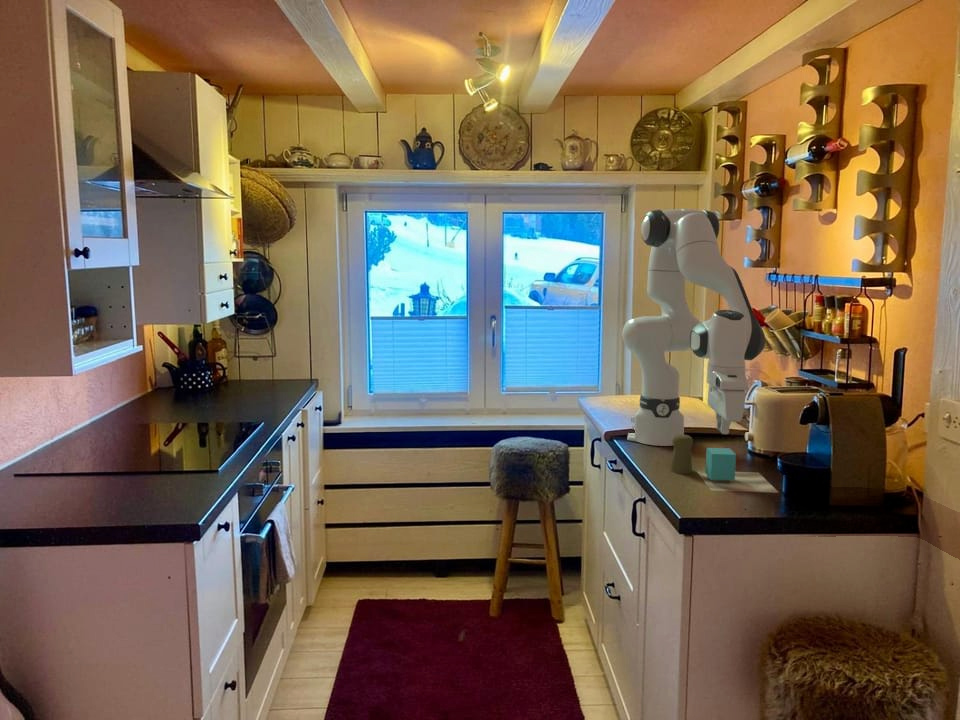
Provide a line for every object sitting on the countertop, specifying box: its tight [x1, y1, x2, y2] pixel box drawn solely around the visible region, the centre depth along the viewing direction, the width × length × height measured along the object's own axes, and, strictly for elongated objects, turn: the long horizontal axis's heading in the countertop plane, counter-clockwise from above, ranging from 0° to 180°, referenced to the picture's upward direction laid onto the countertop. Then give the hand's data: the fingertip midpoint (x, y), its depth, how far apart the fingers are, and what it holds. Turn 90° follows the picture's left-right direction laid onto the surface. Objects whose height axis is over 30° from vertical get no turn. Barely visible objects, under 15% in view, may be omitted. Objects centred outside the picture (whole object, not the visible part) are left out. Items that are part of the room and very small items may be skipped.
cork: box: [669, 434, 694, 475], centre depth 191 cm, size 6×6×11 cm
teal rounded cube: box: [704, 447, 737, 481], centre depth 183 cm, size 6×6×7 cm
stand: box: [696, 470, 779, 494], centre depth 183 cm, size 16×16×8 cm
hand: (722, 431), depth 181 cm, fingers open, 2 cm apart
